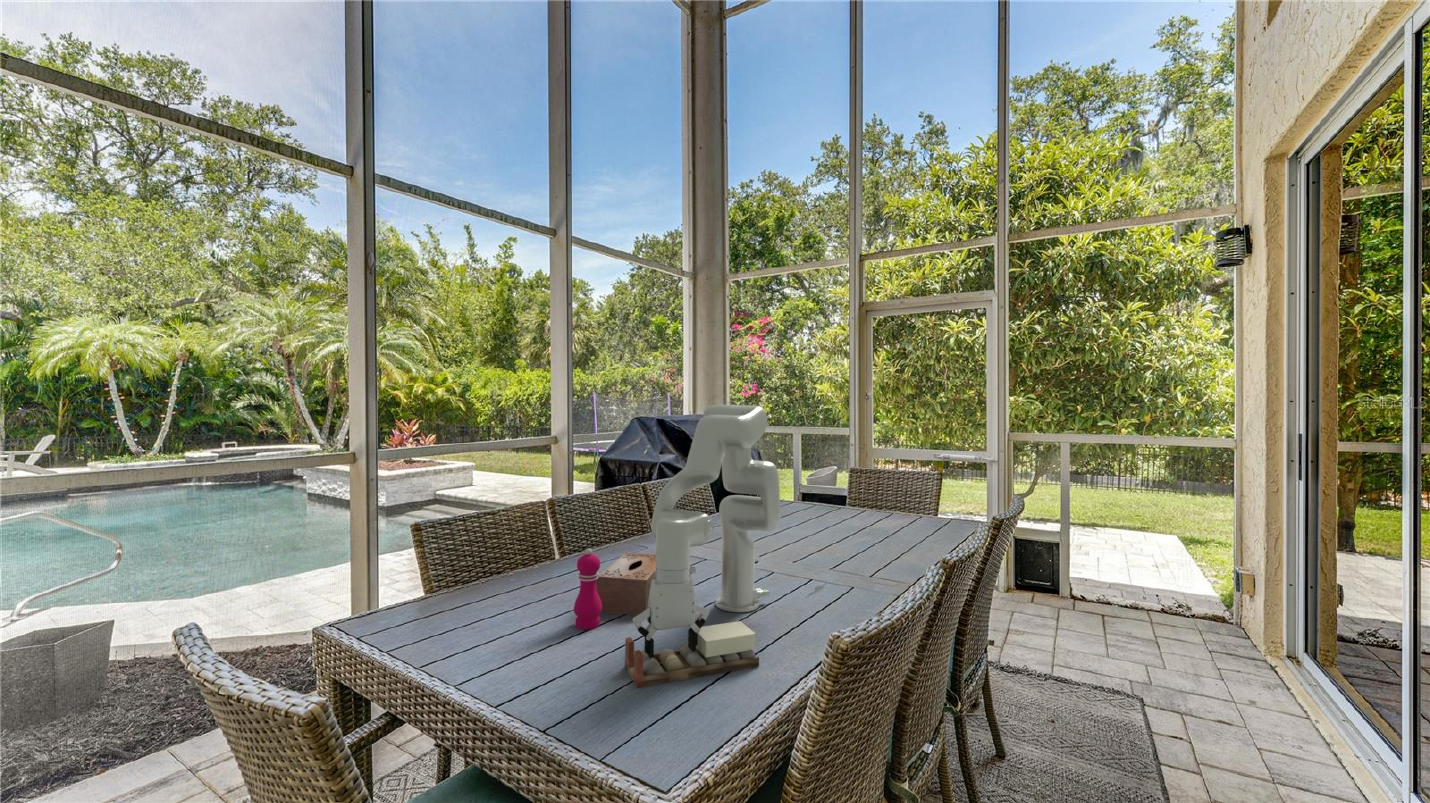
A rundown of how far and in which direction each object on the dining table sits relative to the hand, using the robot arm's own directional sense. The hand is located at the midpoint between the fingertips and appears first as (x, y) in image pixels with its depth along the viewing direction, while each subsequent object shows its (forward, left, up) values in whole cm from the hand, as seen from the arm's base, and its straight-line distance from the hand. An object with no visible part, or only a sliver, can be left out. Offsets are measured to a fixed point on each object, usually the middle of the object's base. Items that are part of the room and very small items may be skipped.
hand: (671, 652), depth 131 cm
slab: (-13, 0, -1) cm, 13 cm away
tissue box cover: (-5, -48, -4) cm, 49 cm away
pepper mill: (+12, -32, -4) cm, 34 cm away
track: (-5, 0, -4) cm, 6 cm away
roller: (0, 0, -2) cm, 2 cm away
